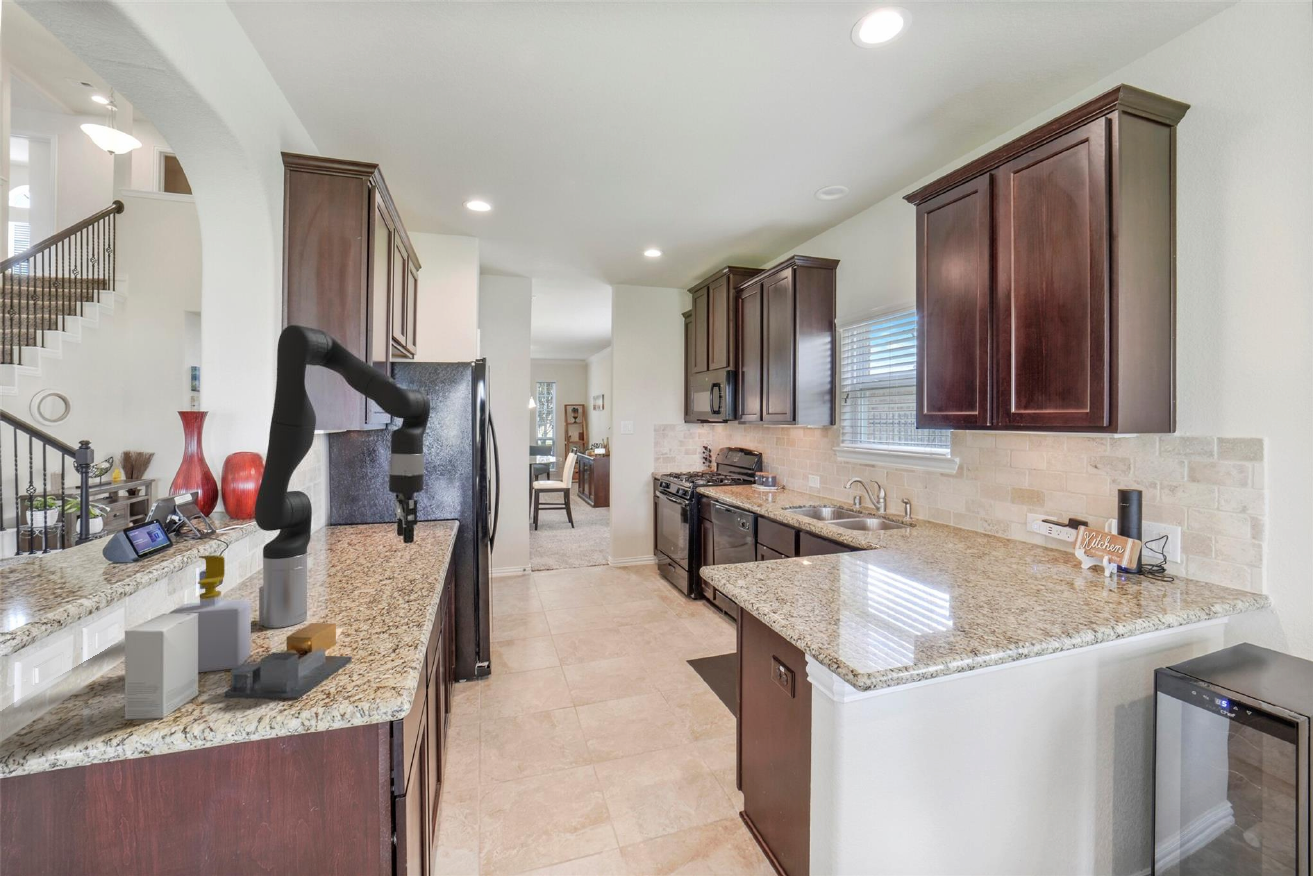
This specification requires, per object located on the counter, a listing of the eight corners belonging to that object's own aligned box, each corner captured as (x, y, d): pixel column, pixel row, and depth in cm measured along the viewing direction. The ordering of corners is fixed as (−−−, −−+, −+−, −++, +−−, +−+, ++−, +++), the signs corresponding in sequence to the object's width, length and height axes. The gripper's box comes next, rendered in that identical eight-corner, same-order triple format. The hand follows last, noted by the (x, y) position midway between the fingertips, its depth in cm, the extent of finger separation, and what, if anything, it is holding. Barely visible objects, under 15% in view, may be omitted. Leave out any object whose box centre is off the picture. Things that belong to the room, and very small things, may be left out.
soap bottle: (165, 677, 105) (164, 560, 104) (183, 662, 111) (183, 552, 111) (238, 669, 109) (238, 556, 108) (252, 656, 115) (251, 549, 115)
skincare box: (164, 696, 98) (163, 612, 97) (202, 695, 98) (201, 611, 98) (122, 721, 89) (121, 629, 89) (164, 719, 90) (163, 629, 90)
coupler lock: (286, 659, 113) (286, 636, 113) (312, 644, 121) (312, 623, 121) (311, 660, 113) (311, 637, 113) (335, 645, 121) (335, 623, 121)
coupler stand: (224, 697, 97) (224, 659, 97) (287, 659, 113) (287, 627, 113) (298, 699, 97) (297, 661, 97) (351, 661, 113) (351, 628, 113)
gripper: (384, 469, 131) (383, 535, 131) (394, 475, 119) (392, 546, 119) (417, 469, 135) (415, 532, 135) (429, 474, 123) (428, 543, 124)
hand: (405, 539), depth 127 cm, fingers open, 8 cm apart
